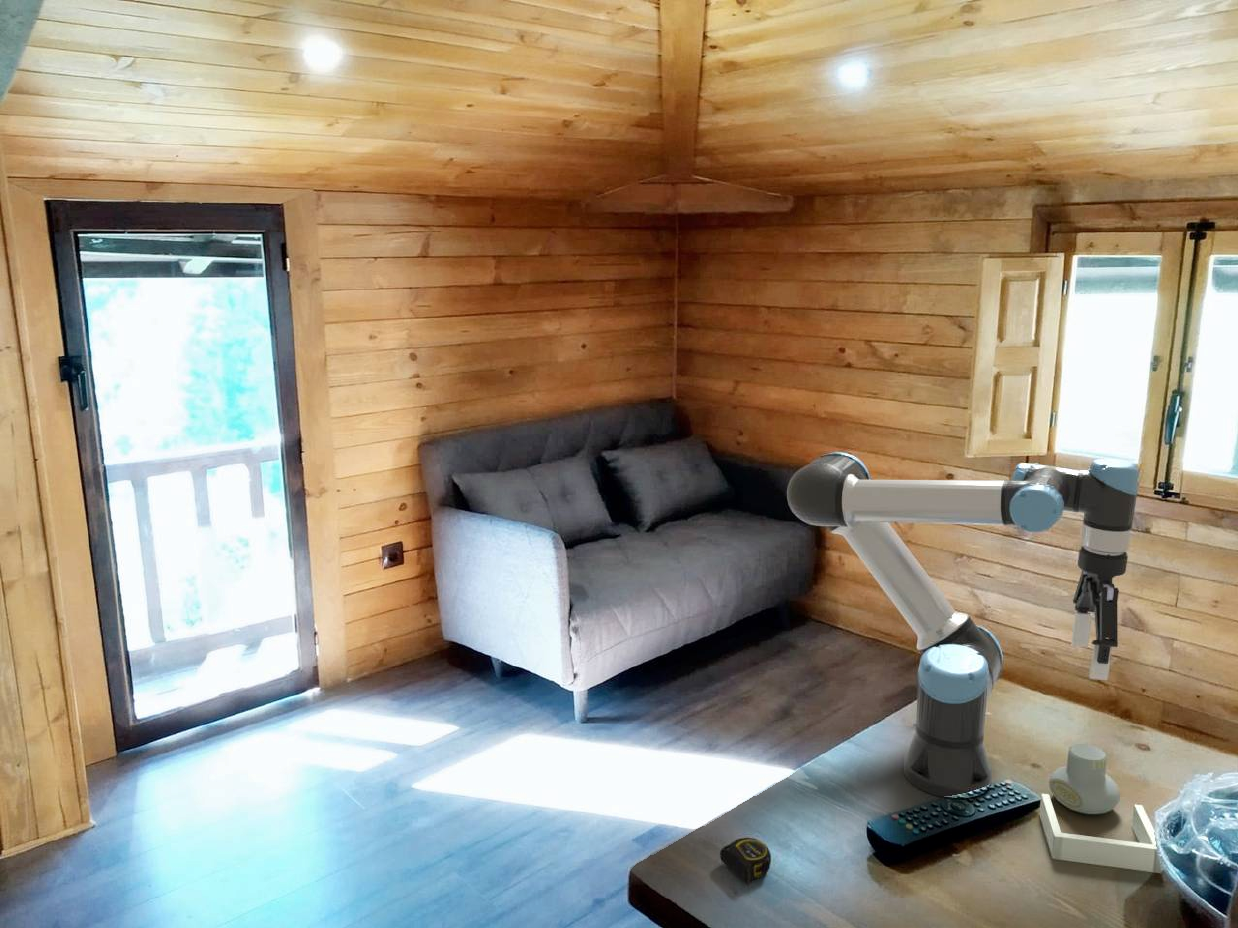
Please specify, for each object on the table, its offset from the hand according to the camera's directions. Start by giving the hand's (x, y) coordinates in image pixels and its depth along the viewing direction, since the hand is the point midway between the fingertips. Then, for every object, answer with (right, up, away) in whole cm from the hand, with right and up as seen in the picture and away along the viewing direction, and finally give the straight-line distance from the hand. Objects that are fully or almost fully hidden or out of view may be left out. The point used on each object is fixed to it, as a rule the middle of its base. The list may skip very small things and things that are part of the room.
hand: (1088, 661), depth 167 cm
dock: (-7, -26, -16) cm, 31 cm away
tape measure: (-64, -28, -21) cm, 73 cm away
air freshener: (-4, -24, -5) cm, 25 cm away
